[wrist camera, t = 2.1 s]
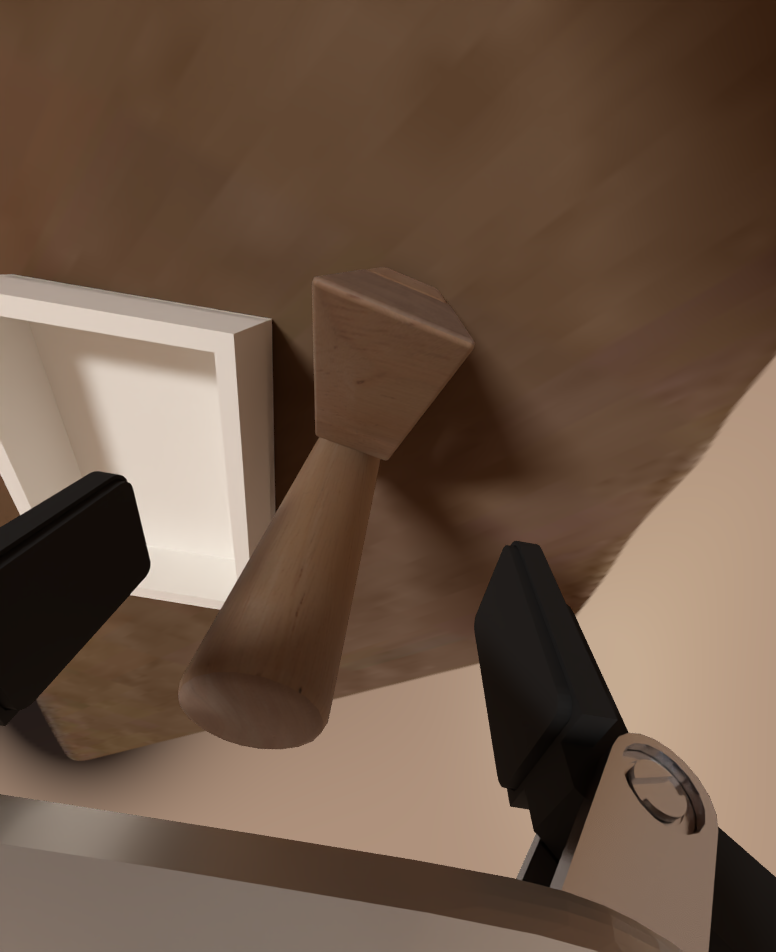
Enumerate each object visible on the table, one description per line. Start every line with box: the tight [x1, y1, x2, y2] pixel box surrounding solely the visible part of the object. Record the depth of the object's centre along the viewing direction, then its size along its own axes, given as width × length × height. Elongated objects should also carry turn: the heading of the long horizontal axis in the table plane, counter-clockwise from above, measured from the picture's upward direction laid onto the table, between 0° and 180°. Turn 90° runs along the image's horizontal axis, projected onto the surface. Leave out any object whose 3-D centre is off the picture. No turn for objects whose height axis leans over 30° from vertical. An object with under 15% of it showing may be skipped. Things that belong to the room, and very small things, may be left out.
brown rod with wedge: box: [178, 267, 475, 749], centre depth 14 cm, size 4×11×18 cm, turn 160°
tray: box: [0, 274, 275, 609], centre depth 24 cm, size 20×15×5 cm
